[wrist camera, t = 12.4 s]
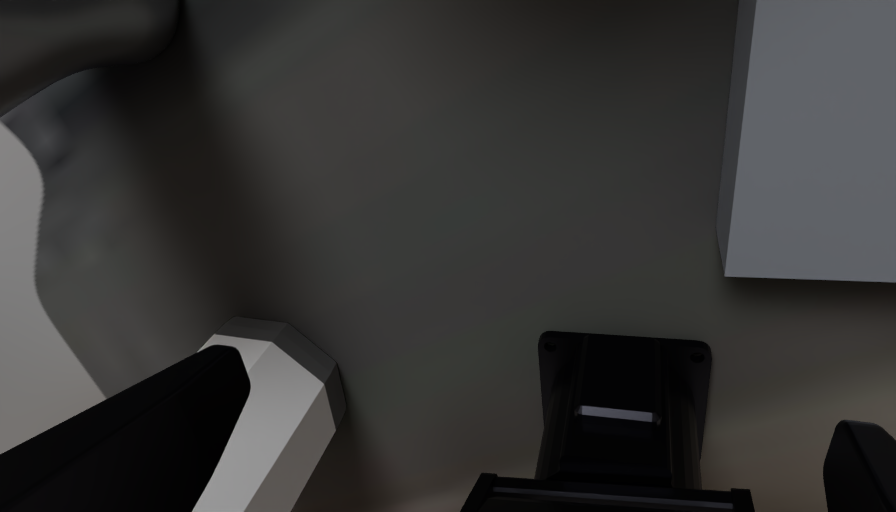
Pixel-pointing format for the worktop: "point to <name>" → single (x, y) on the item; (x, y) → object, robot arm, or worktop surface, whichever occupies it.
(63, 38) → the beer glass
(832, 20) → the socket block
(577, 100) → the worktop surface
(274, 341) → the wine bottle
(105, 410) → the robot arm
